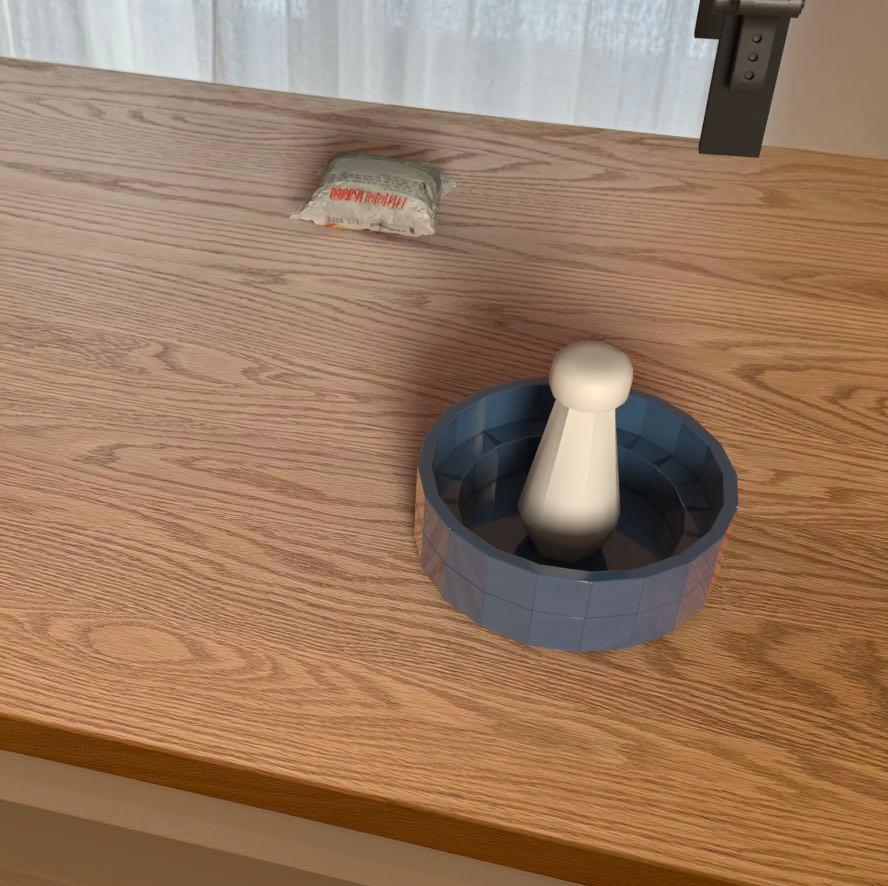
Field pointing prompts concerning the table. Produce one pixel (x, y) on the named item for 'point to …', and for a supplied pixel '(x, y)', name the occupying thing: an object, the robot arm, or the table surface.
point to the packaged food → (377, 194)
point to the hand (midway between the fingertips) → (723, 91)
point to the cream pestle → (578, 454)
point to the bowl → (598, 575)
